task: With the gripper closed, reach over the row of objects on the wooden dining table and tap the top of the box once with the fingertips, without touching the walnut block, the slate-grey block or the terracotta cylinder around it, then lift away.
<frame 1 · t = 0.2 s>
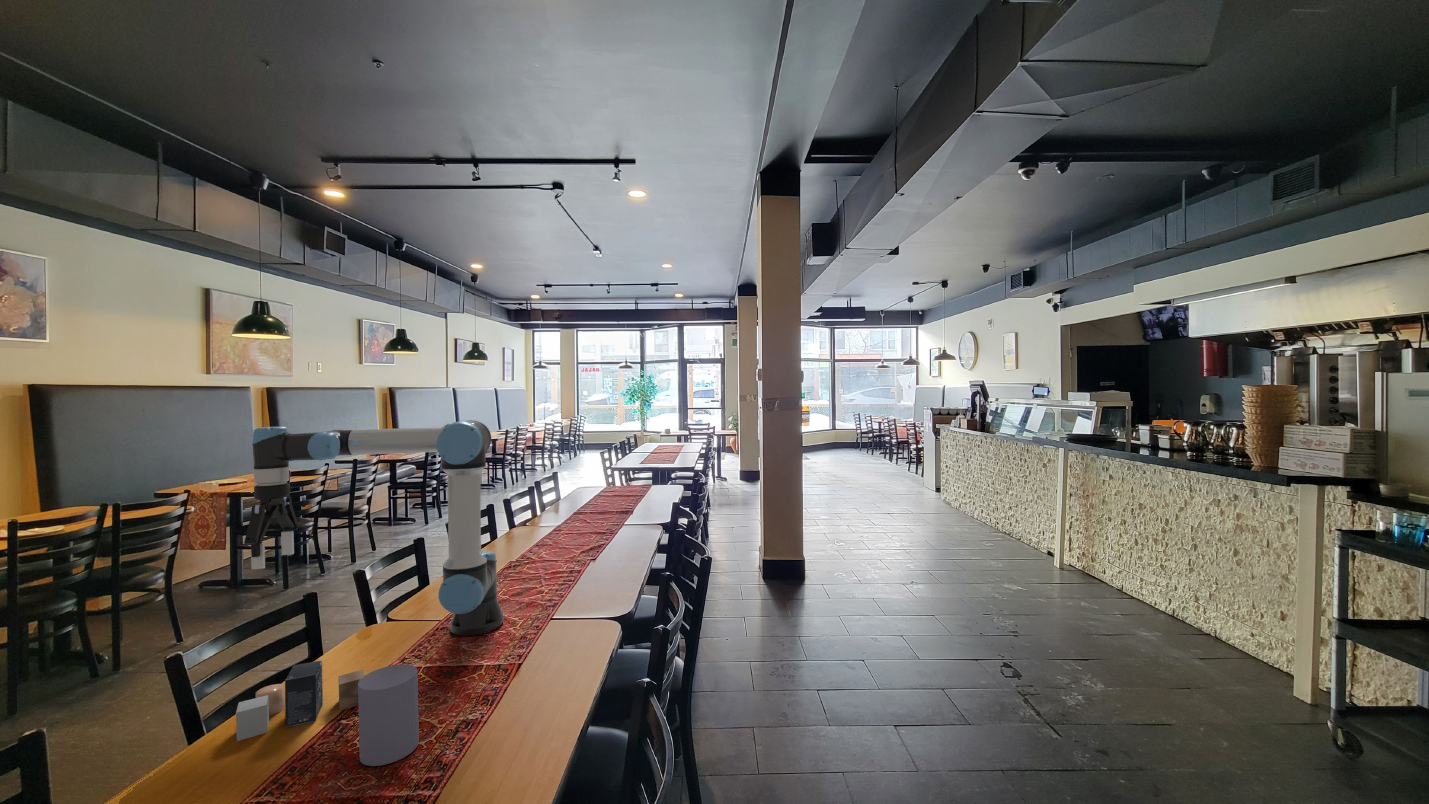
hand: (273, 561, 150), 28 cm above the table, fingers open, 13 cm apart
box: (304, 716, 124), on the table
walnut block: (352, 702, 130), on the table
container: (390, 751, 111), on the table
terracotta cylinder: (270, 711, 126), on the table
slate block: (253, 731, 119), on the table
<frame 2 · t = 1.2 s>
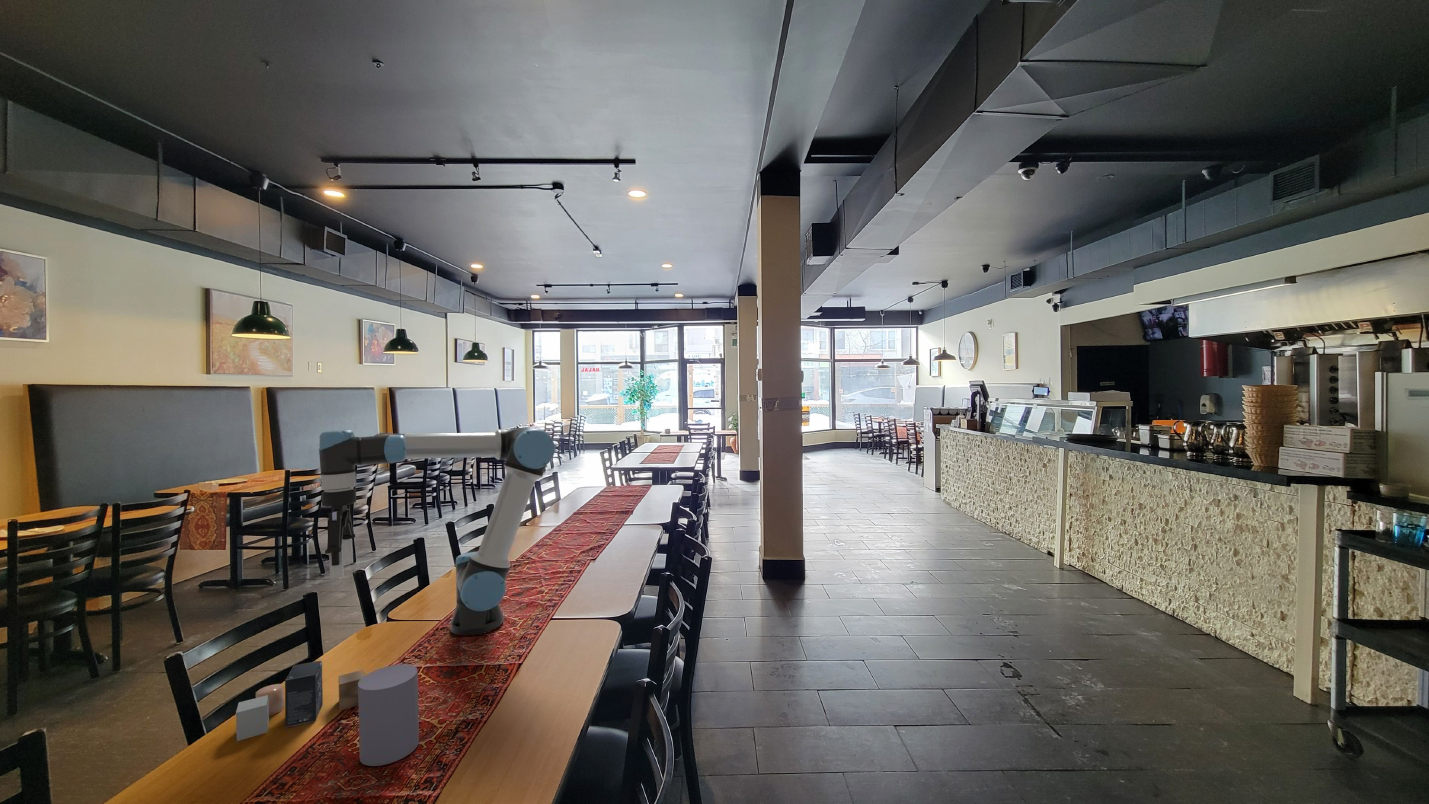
hand: (342, 570, 144), 27 cm above the table, fingers open, 13 cm apart
nothing on the table moved.
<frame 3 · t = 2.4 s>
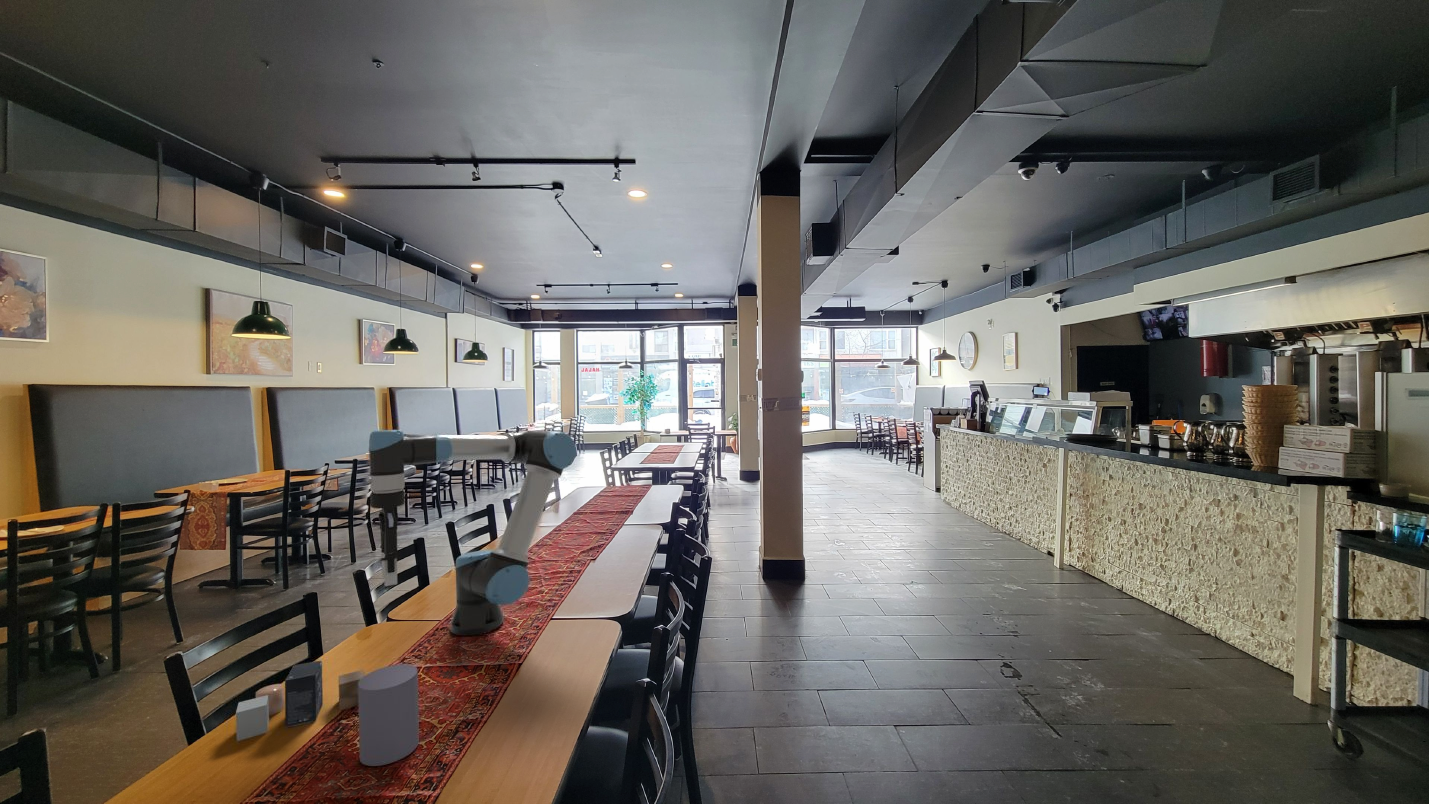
hand: (389, 581, 140), 25 cm above the table, fingers open, 6 cm apart
nothing on the table moved.
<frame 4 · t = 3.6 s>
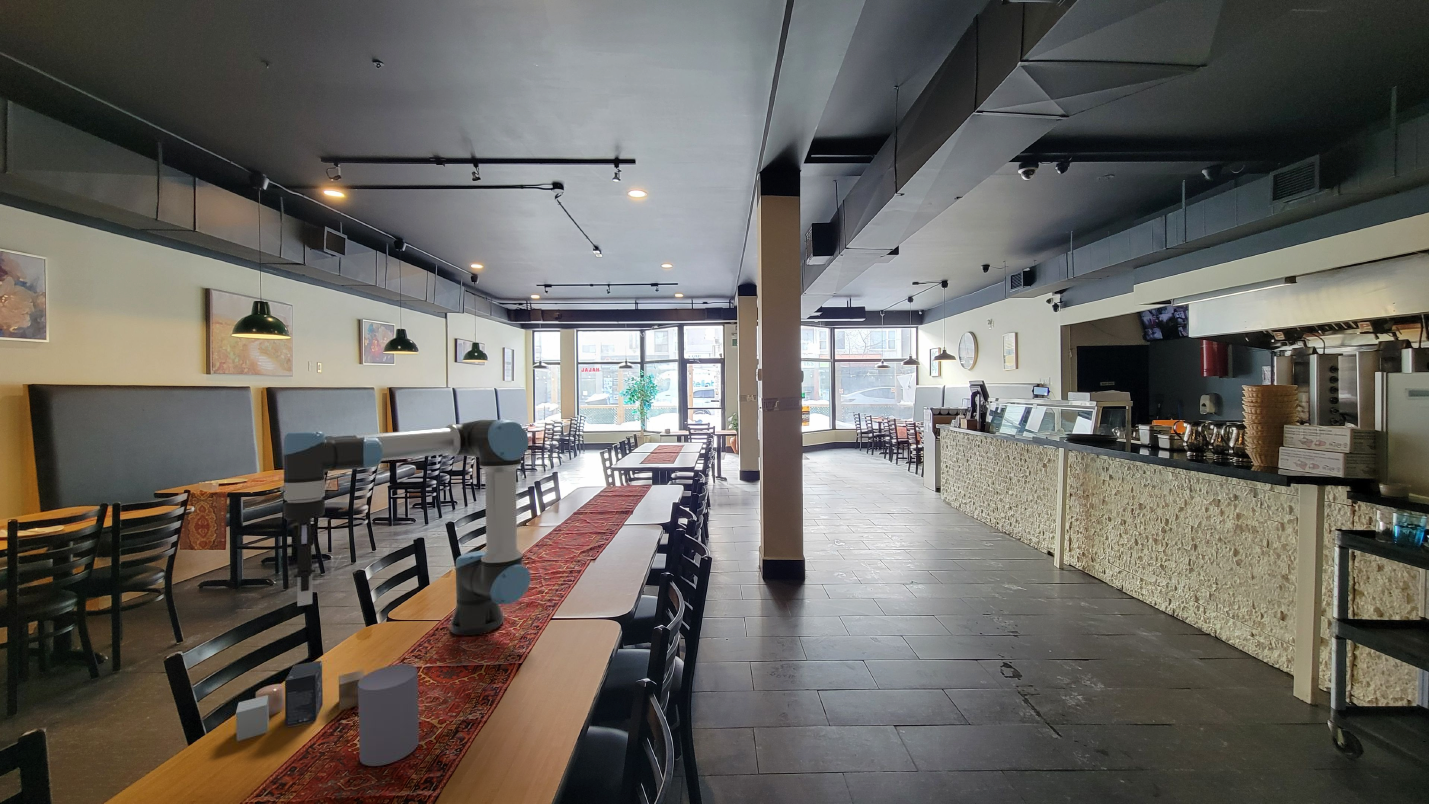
hand: (305, 603, 125), 25 cm above the table, fingers closed
nothing on the table moved.
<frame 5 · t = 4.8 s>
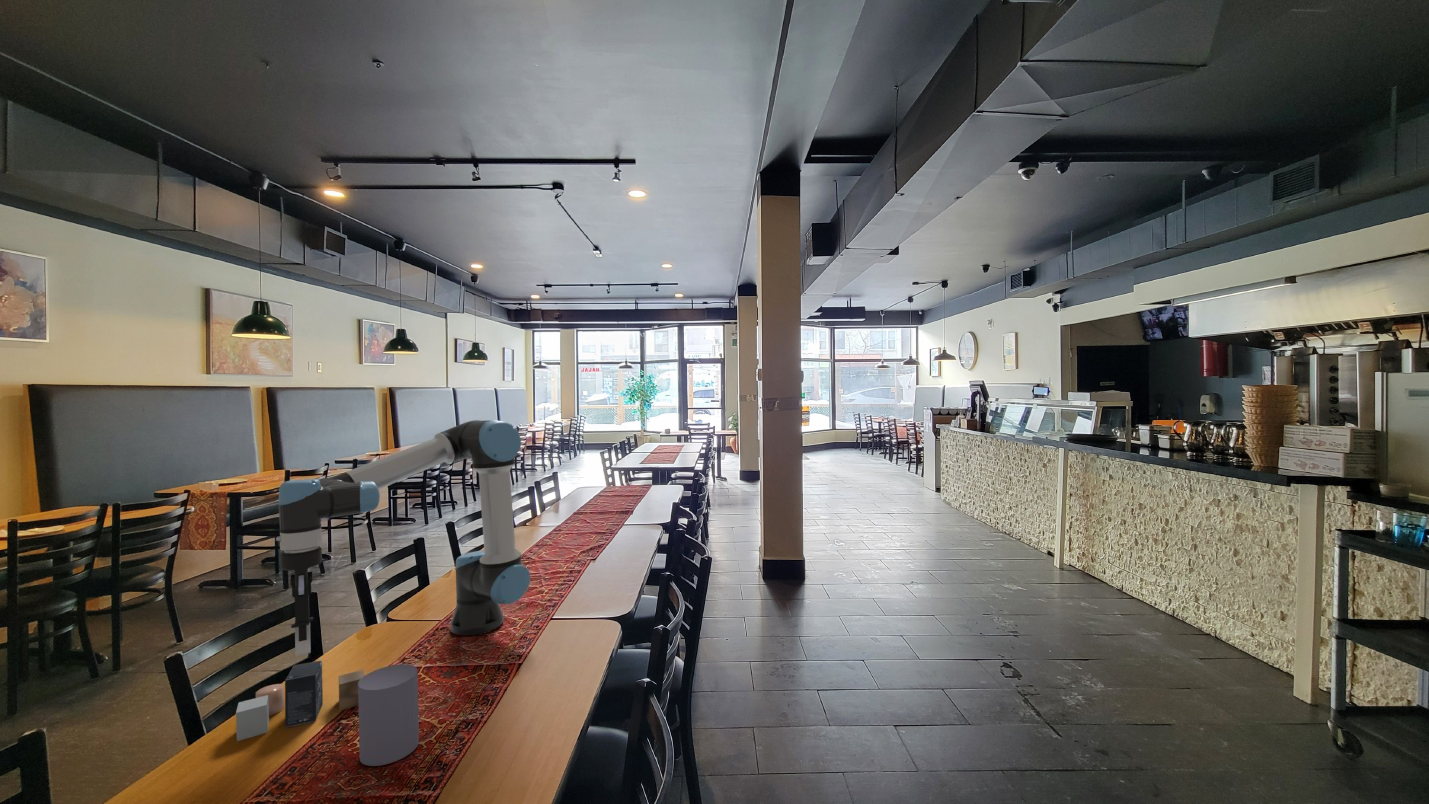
hand: (303, 653, 124), 14 cm above the table, fingers closed
nothing on the table moved.
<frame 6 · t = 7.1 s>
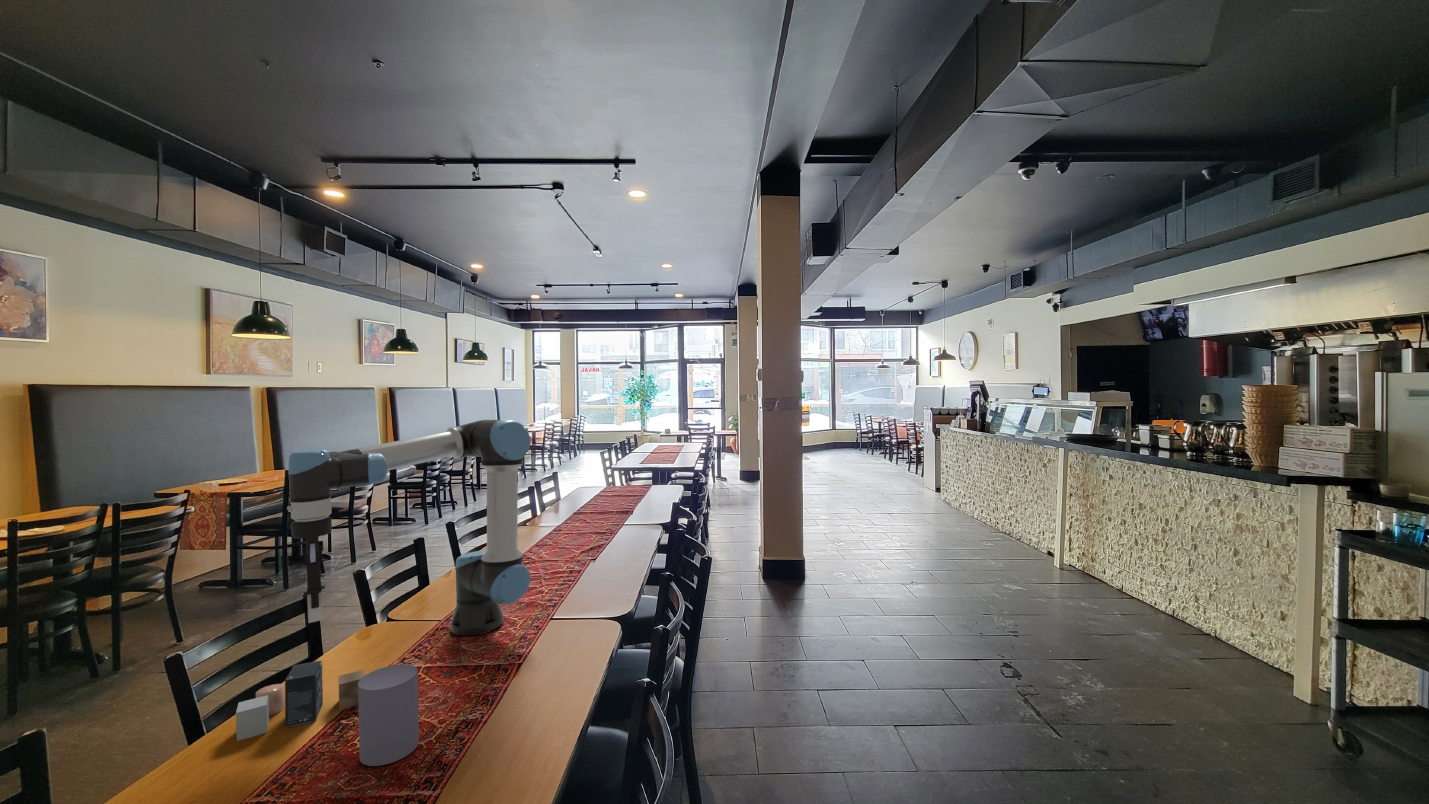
hand: (315, 620, 126), 21 cm above the table, fingers closed
nothing on the table moved.
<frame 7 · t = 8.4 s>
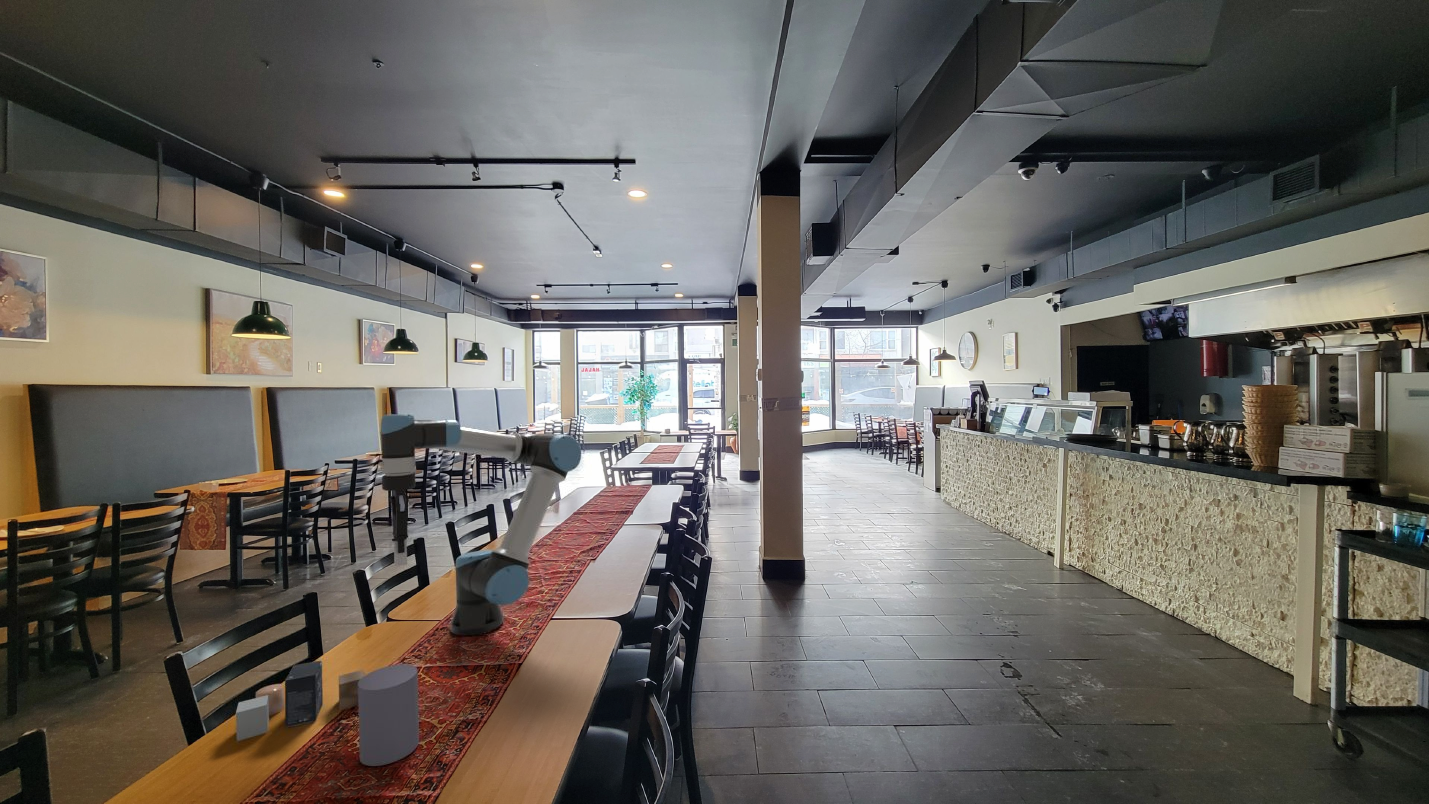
hand: (400, 564, 143), 28 cm above the table, fingers closed
nothing on the table moved.
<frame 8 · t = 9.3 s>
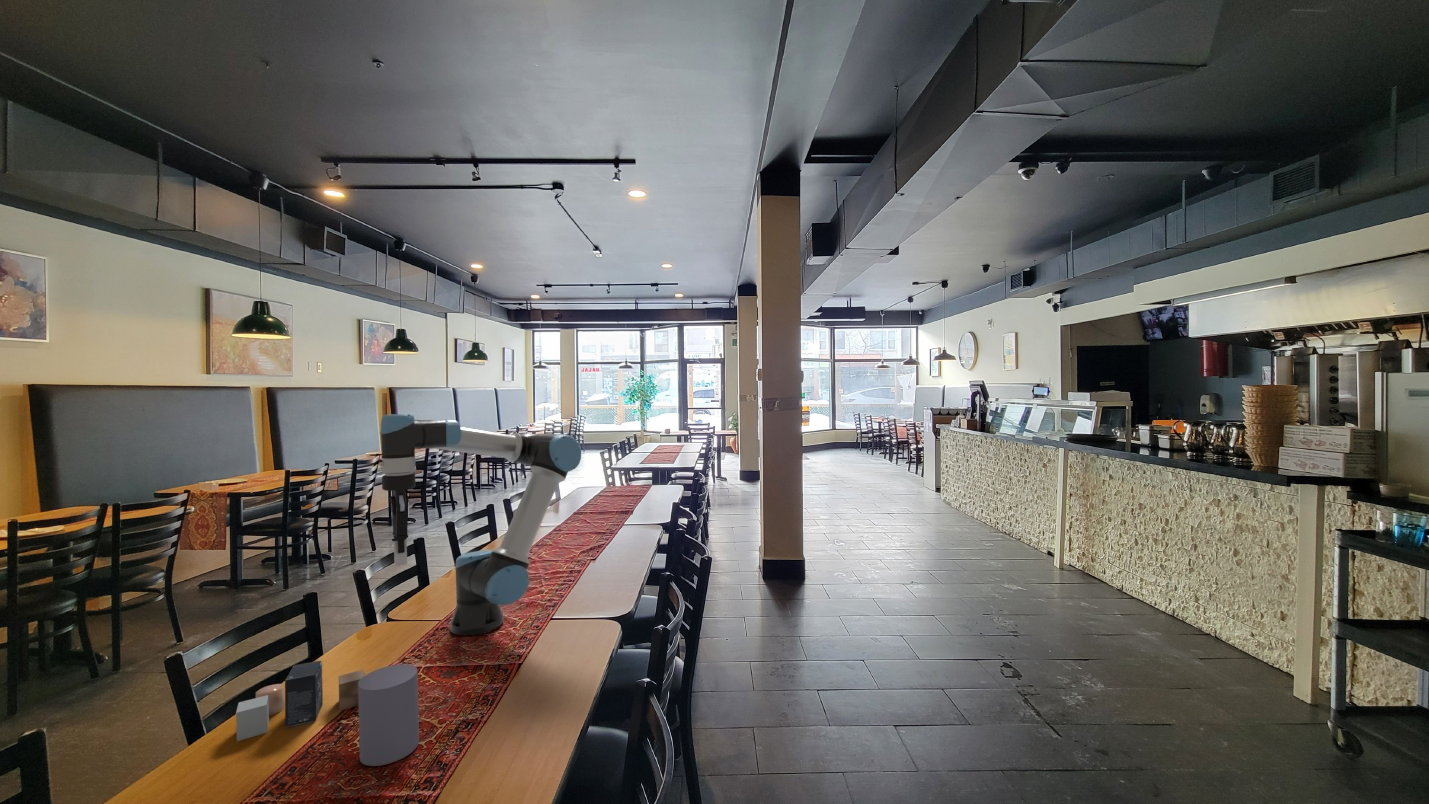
hand: (400, 564, 143), 28 cm above the table, fingers closed
nothing on the table moved.
at the end: box tilted 0°; box moved 0.3 cm from its start; walnut block moved 0.1 cm from its start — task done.
